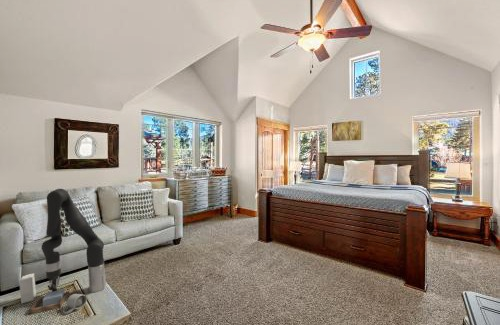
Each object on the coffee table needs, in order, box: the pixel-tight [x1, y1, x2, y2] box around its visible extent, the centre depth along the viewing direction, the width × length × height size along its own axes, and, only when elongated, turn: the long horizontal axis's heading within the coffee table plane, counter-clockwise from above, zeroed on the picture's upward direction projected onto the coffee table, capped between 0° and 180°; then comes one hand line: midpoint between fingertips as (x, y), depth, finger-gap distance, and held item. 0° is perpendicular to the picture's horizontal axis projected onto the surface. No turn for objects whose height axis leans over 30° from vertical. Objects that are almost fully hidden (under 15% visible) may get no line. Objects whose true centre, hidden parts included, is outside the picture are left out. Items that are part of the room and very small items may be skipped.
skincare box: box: [18, 272, 37, 304], centre depth 150 cm, size 8×6×15 cm
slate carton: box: [42, 288, 66, 307], centre depth 147 cm, size 9×8×5 cm
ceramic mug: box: [62, 293, 88, 315], centre depth 140 cm, size 11×8×8 cm
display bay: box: [28, 291, 69, 315], centre depth 144 cm, size 15×13×2 cm
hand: (54, 294), depth 152 cm, fingers closed
